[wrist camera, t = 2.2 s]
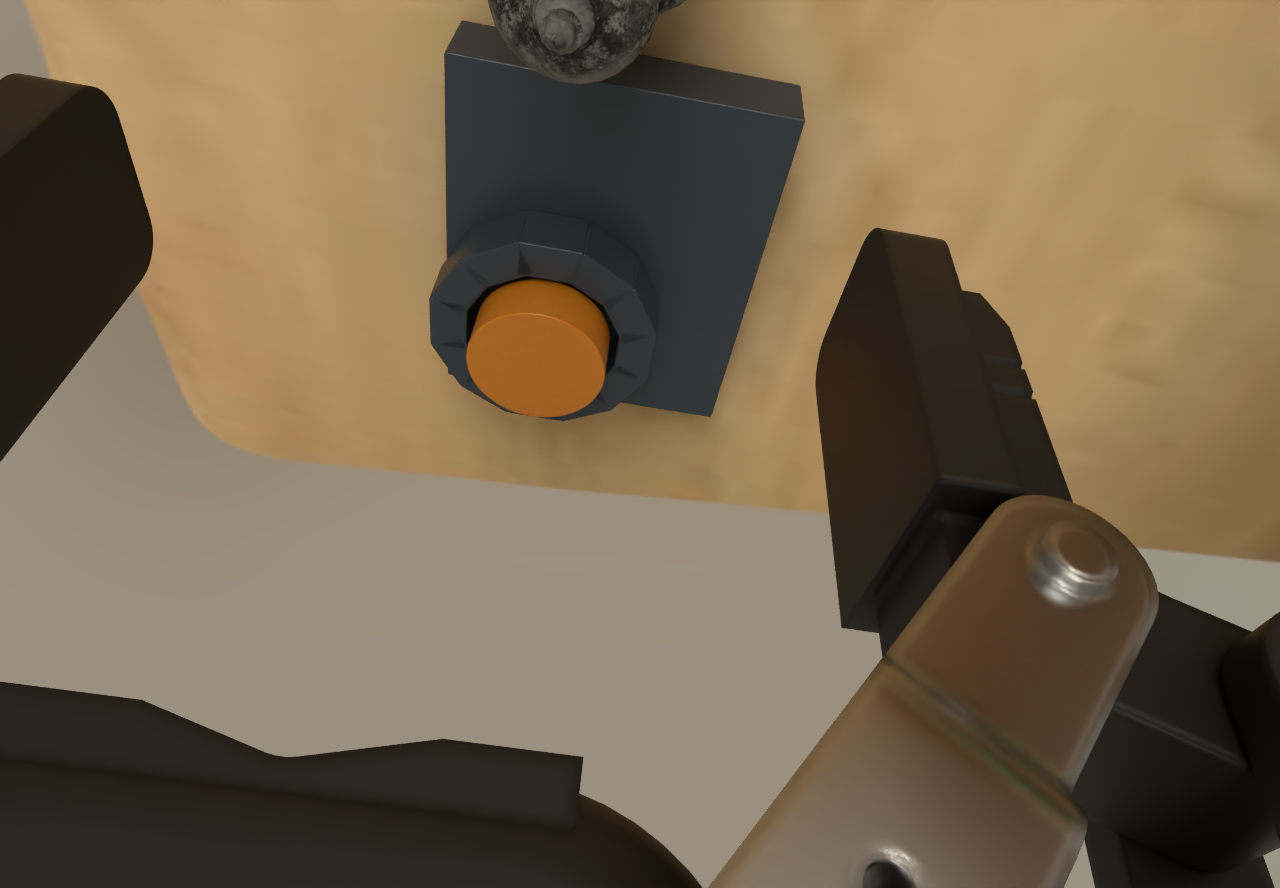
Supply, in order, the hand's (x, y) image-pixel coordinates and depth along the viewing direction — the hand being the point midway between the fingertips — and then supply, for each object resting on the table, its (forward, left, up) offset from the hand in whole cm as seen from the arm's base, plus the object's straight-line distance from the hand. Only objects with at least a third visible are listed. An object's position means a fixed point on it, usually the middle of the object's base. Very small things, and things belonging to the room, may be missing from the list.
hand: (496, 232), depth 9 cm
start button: (+13, 0, -13) cm, 19 cm away
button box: (+11, +1, -17) cm, 20 cm away
